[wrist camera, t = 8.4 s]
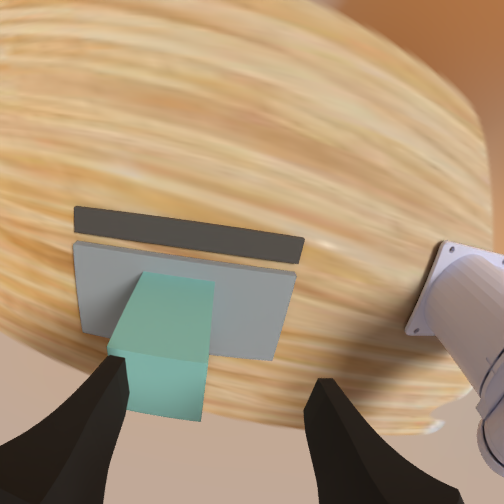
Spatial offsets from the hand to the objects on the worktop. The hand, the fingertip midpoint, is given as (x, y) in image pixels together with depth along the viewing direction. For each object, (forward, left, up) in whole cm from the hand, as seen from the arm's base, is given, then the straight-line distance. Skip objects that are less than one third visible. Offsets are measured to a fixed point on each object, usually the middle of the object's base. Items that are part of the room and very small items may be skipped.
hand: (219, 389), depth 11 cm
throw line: (+3, -2, -9) cm, 10 cm away
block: (+3, +3, -9) cm, 9 cm away
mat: (+3, +3, -9) cm, 10 cm away
